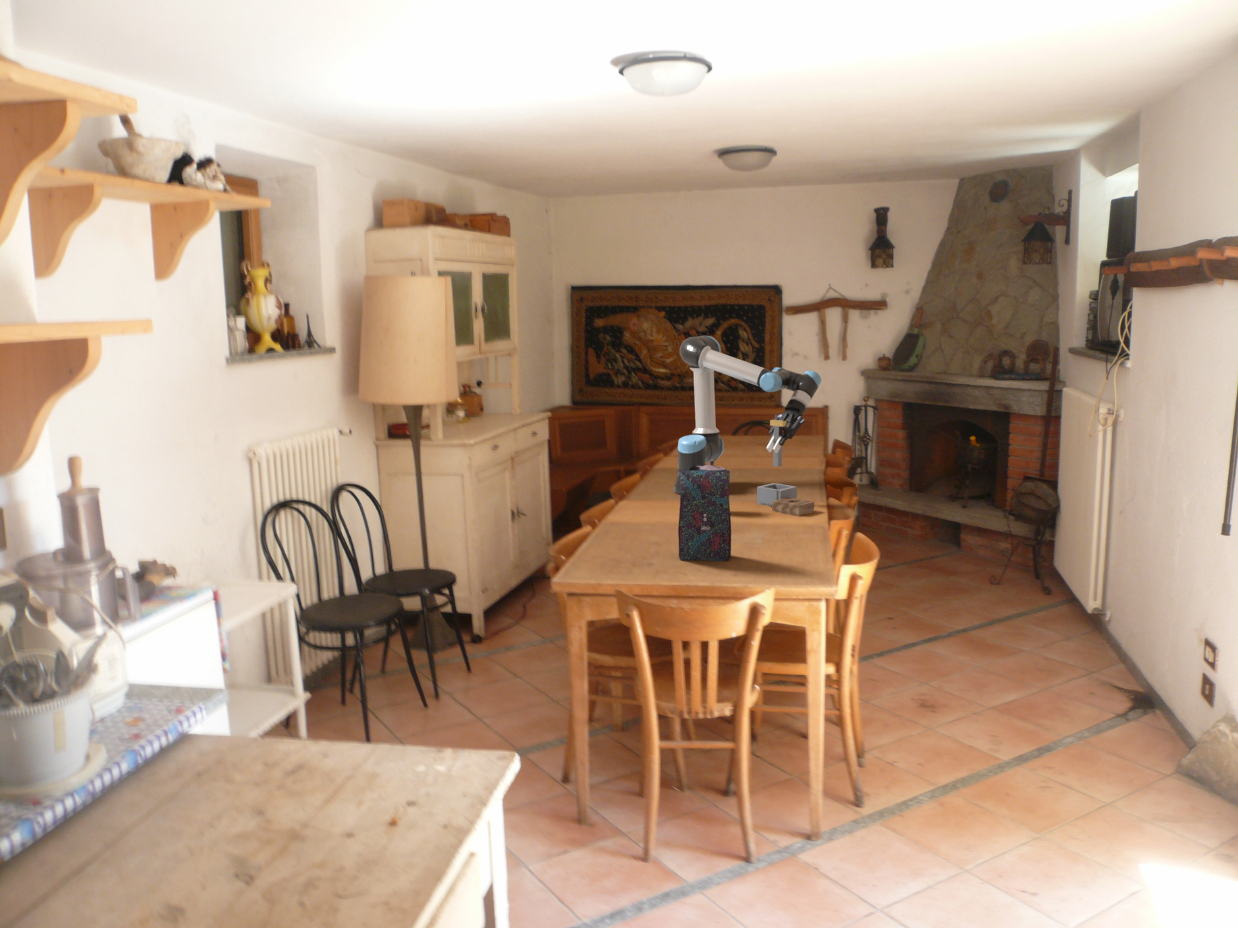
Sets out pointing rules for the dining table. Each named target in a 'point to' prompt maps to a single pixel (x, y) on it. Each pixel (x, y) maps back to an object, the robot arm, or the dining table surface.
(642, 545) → the dining table surface
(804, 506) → the block
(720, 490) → the decorative box
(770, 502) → the grey square box
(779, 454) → the t key
